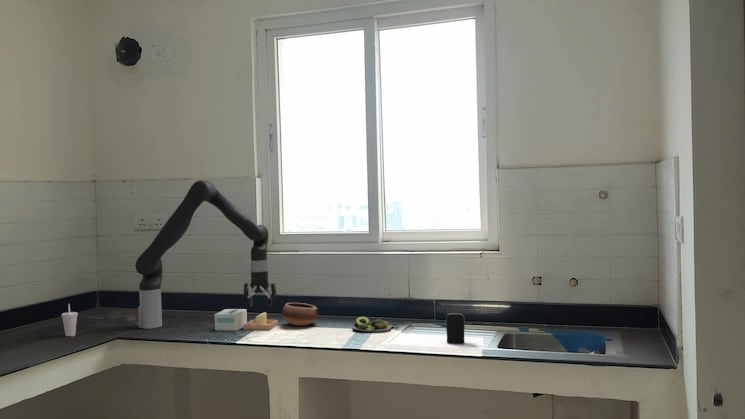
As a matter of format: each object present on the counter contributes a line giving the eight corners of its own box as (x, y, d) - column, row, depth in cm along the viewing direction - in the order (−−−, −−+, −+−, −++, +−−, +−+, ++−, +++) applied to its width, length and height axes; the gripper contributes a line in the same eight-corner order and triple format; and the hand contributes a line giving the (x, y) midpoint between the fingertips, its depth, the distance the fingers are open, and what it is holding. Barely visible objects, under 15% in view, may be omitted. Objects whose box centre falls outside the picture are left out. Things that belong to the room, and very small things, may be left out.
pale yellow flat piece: (255, 316, 264) (263, 312, 273) (255, 328, 264) (263, 323, 273) (258, 316, 264) (266, 312, 272) (258, 328, 264) (266, 323, 273)
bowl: (321, 327, 266) (321, 304, 266) (287, 330, 260) (286, 307, 260) (312, 320, 281) (311, 298, 280) (278, 323, 275) (278, 301, 275)
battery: (465, 341, 234) (464, 312, 234) (464, 344, 230) (464, 314, 230) (447, 341, 236) (446, 312, 235) (446, 343, 232) (445, 314, 232)
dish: (243, 329, 264) (243, 324, 264) (252, 324, 275) (252, 319, 275) (269, 330, 262) (269, 325, 262) (277, 324, 273) (277, 319, 273)
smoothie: (60, 338, 257) (59, 305, 256) (64, 334, 263) (62, 302, 263) (77, 336, 259) (75, 304, 258) (80, 333, 265) (78, 301, 264)
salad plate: (399, 324, 269) (398, 314, 269) (396, 334, 251) (396, 322, 251) (355, 324, 271) (355, 314, 271) (350, 334, 253) (350, 323, 253)
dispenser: (214, 330, 264) (214, 313, 264) (226, 324, 276) (225, 308, 276) (236, 330, 263) (236, 313, 262) (246, 324, 275) (246, 308, 274)
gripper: (240, 271, 265) (241, 308, 265) (271, 271, 263) (272, 308, 263) (247, 269, 272) (248, 304, 273) (277, 269, 270) (278, 305, 270)
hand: (260, 306), depth 268 cm, fingers open, 8 cm apart
